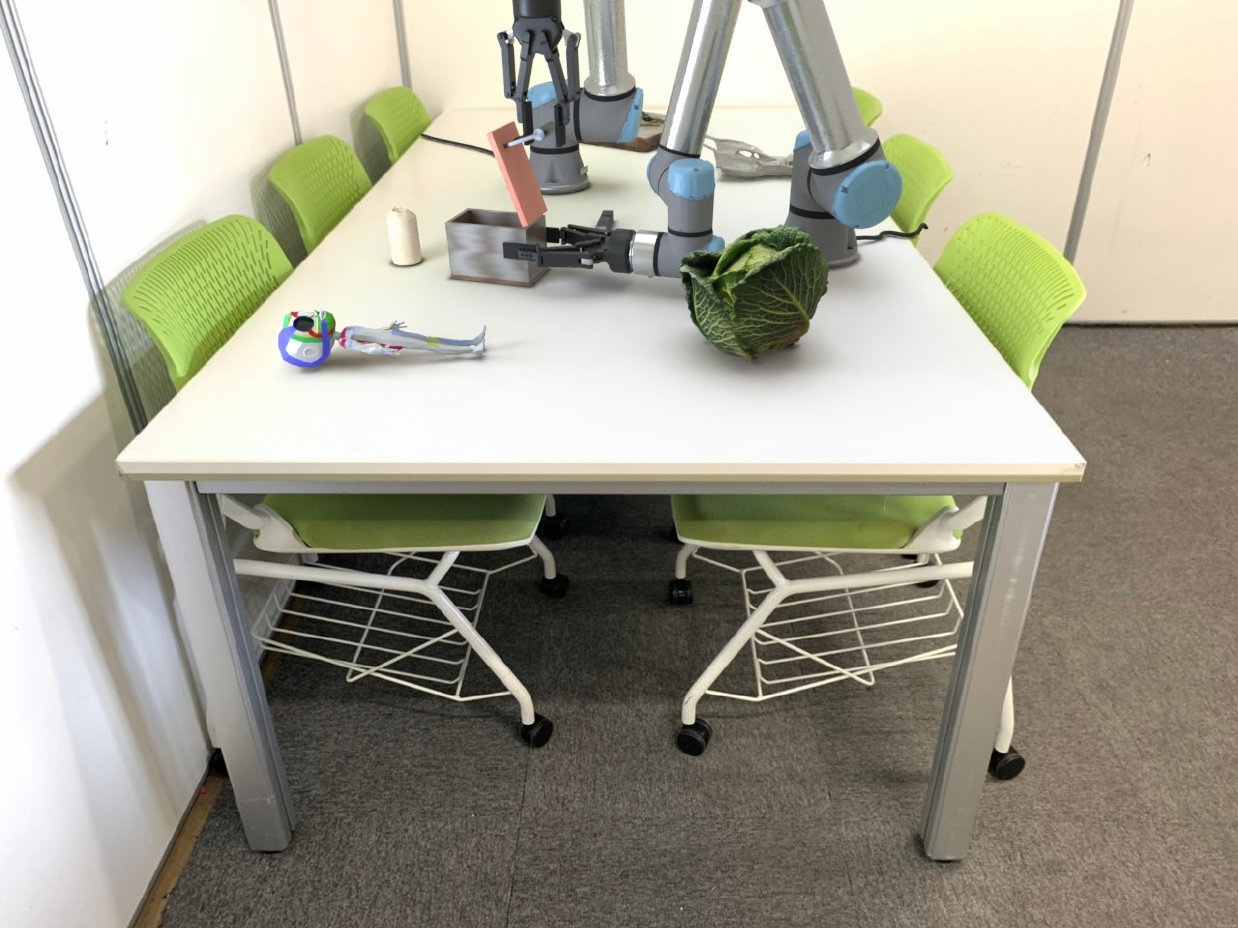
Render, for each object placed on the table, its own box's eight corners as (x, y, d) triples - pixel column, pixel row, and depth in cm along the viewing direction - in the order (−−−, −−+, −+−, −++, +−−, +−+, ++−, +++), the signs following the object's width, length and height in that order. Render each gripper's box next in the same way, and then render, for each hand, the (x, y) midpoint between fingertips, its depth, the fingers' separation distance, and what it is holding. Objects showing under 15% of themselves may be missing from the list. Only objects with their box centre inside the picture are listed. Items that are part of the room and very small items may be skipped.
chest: (451, 278, 164) (444, 222, 158) (473, 261, 171) (467, 208, 165) (529, 287, 159) (525, 230, 154) (548, 269, 167) (545, 214, 161)
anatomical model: (702, 130, 224) (803, 129, 220) (702, 168, 229) (801, 167, 225) (697, 145, 212) (805, 144, 208) (697, 184, 216) (802, 184, 213)
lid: (486, 134, 147) (533, 117, 143) (508, 122, 155) (554, 106, 151) (522, 227, 154) (569, 213, 150) (542, 212, 161) (587, 198, 157)
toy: (485, 337, 129) (268, 320, 125) (482, 389, 134) (272, 374, 129) (486, 310, 138) (283, 293, 133) (484, 360, 142) (287, 345, 138)
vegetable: (713, 374, 144) (652, 267, 136) (810, 307, 145) (755, 197, 138) (765, 401, 126) (698, 280, 118) (875, 325, 127) (816, 200, 119)
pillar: (613, 210, 190) (600, 241, 173) (613, 220, 191) (600, 251, 174) (603, 210, 190) (589, 240, 173) (603, 220, 191) (589, 251, 174)
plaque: (647, 125, 237) (559, 112, 252) (647, 153, 241) (560, 139, 256) (706, 107, 258) (622, 97, 273) (705, 133, 262) (622, 121, 277)
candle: (427, 257, 173) (420, 205, 168) (412, 267, 168) (405, 214, 163) (402, 254, 174) (394, 203, 169) (387, 264, 170) (378, 211, 165)
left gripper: (471, -11, 137) (486, 146, 149) (583, -9, 132) (588, 153, 145) (492, -15, 143) (504, 136, 155) (599, -14, 138) (603, 142, 151)
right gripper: (615, 295, 148) (491, 282, 154) (651, 252, 166) (539, 242, 172) (615, 251, 144) (487, 239, 150) (652, 212, 162) (536, 203, 168)
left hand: (545, 144), depth 150 cm, fingers open, 5 cm apart
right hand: (515, 241), depth 161 cm, fingers closed on chest, 9 cm apart
